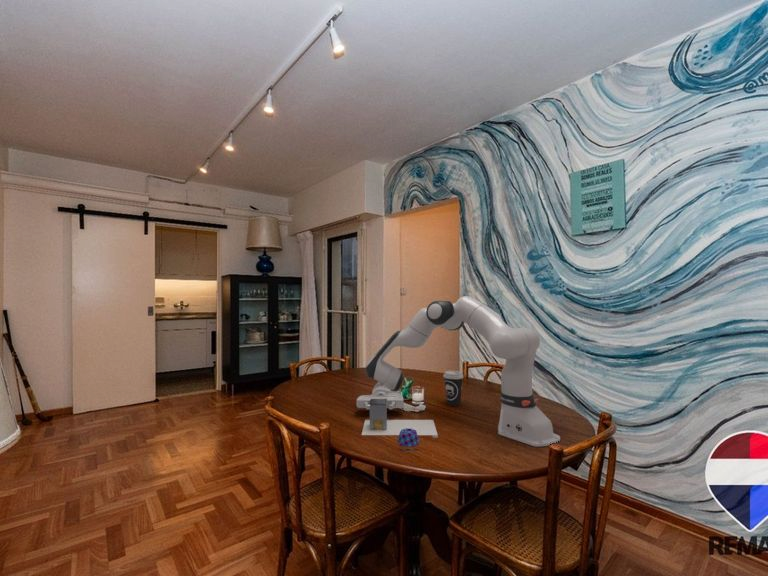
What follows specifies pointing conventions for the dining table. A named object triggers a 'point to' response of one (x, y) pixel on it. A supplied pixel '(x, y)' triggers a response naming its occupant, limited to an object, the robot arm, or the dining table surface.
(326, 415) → the dining table surface
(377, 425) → the block
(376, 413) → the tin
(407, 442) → the pudding
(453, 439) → the dining table surface
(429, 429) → the placemat
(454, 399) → the coffee cup
